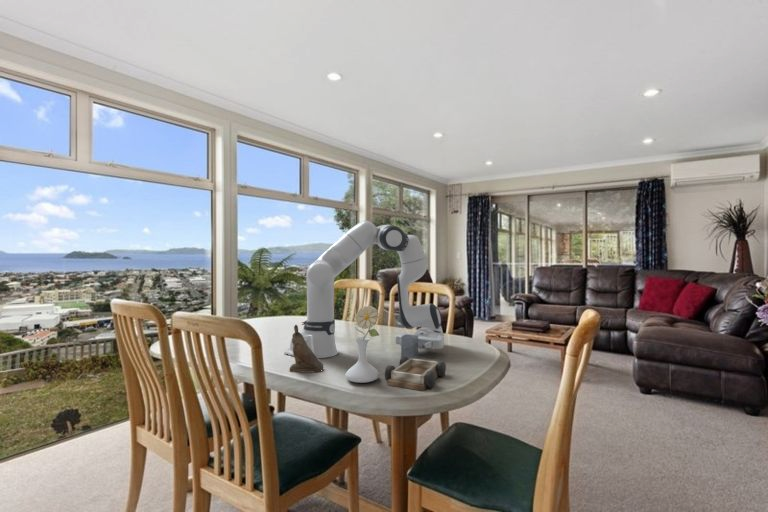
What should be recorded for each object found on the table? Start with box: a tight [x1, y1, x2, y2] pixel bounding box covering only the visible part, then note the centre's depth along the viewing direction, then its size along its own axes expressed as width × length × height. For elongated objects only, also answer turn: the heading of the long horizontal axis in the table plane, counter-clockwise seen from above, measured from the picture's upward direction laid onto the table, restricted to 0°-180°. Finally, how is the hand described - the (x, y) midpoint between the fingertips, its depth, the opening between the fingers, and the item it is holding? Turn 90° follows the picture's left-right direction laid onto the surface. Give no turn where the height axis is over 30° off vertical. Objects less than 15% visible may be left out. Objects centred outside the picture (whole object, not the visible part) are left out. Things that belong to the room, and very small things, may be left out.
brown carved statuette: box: [289, 324, 324, 372], centre depth 135 cm, size 12×6×18 cm, turn 86°
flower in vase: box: [344, 305, 381, 384], centre depth 124 cm, size 13×11×25 cm
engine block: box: [400, 335, 419, 360], centre depth 145 cm, size 5×5×10 cm
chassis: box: [384, 356, 447, 392], centre depth 126 cm, size 15×20×5 cm
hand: (412, 344), depth 148 cm, fingers open, 8 cm apart
